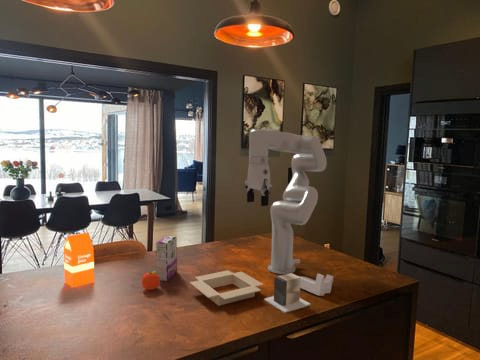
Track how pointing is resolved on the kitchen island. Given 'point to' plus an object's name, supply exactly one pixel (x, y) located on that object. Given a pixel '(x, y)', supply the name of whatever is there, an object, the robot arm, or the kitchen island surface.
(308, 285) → the bracket
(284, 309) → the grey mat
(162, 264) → the candy bar box
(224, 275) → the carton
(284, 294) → the birch box
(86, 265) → the orange juice
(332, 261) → the kitchen island surface
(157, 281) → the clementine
